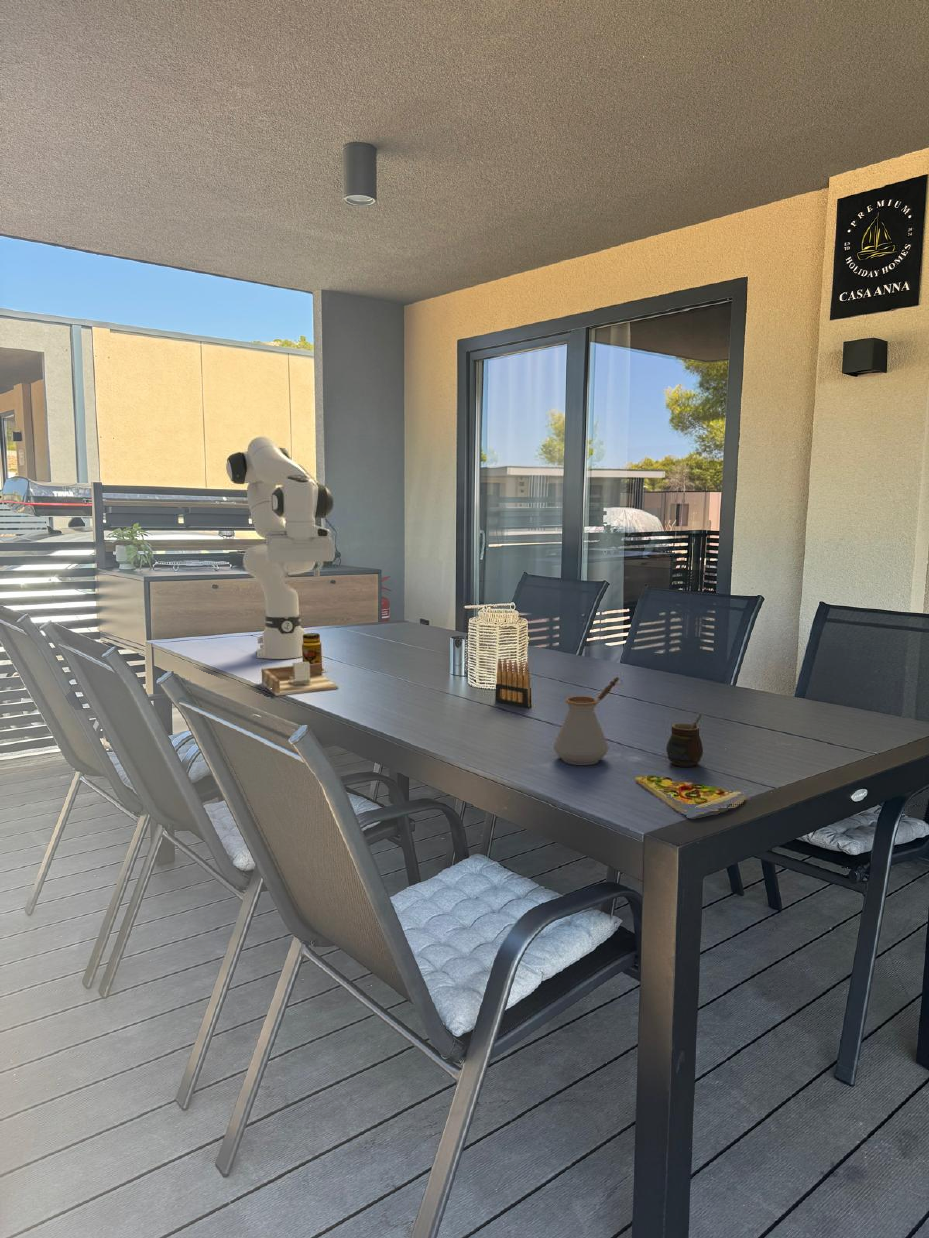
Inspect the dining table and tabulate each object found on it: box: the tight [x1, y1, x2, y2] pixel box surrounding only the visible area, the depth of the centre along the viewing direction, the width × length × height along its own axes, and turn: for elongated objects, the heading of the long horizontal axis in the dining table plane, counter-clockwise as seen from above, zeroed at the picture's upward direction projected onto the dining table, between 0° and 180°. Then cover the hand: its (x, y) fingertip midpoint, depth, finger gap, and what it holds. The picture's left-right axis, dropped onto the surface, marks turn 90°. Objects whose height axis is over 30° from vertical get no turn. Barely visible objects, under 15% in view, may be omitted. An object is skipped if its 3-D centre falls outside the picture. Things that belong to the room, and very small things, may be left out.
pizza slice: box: [635, 774, 746, 814], centre depth 155 cm, size 16×21×3 cm
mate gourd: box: [665, 713, 704, 768], centre depth 173 cm, size 7×8×10 cm
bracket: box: [289, 661, 311, 686], centre depth 246 cm, size 7×4×6 cm, turn 25°
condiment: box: [301, 632, 328, 673], centre depth 267 cm, size 7×8×12 cm
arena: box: [260, 663, 339, 697], centre depth 247 cm, size 18×18×4 cm
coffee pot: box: [553, 676, 624, 766], centre depth 180 cm, size 21×12×15 cm, turn 140°
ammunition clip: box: [494, 657, 533, 709], centre depth 222 cm, size 11×2×12 cm, turn 51°
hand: (301, 577), depth 253 cm, fingers open, 8 cm apart
